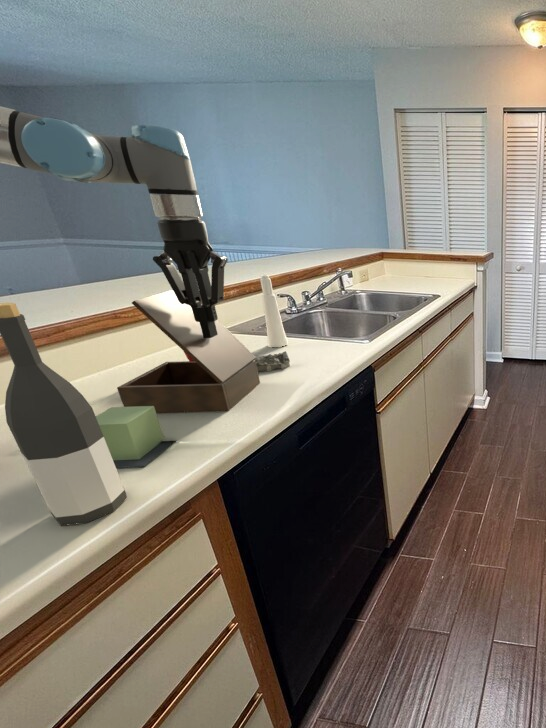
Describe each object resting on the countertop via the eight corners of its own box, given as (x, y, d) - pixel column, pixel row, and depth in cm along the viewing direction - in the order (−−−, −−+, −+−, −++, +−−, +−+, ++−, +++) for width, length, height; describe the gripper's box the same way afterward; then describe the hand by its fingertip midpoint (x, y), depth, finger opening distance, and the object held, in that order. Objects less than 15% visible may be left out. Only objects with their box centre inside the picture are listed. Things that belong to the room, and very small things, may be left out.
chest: (127, 418, 88) (116, 387, 85) (174, 388, 102) (166, 361, 99) (229, 414, 90) (221, 385, 87) (261, 386, 104) (255, 360, 102)
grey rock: (246, 377, 109) (242, 363, 108) (246, 368, 115) (243, 354, 114) (291, 371, 114) (289, 356, 113) (289, 362, 120) (287, 349, 119)
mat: (72, 470, 70) (71, 468, 70) (120, 437, 80) (120, 435, 80) (144, 467, 71) (143, 465, 71) (183, 435, 81) (182, 433, 81)
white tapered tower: (291, 345, 135) (278, 275, 127) (270, 349, 132) (256, 277, 123) (285, 341, 139) (272, 273, 131) (265, 344, 136) (250, 274, 127)
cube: (94, 461, 72) (79, 425, 69) (124, 440, 78) (111, 407, 76) (139, 459, 73) (126, 423, 70) (165, 439, 79) (154, 405, 77)
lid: (131, 302, 79) (134, 300, 79) (181, 288, 94) (184, 286, 94) (219, 384, 87) (222, 382, 87) (253, 359, 102) (256, 357, 102)
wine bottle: (84, 530, 57) (-16, 313, 46) (36, 522, 59) (-73, 309, 47) (142, 494, 65) (68, 299, 53) (98, 487, 66) (17, 296, 55)
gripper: (226, 219, 86) (250, 331, 95) (156, 217, 85) (188, 331, 93) (206, 220, 79) (234, 340, 88) (130, 218, 78) (167, 341, 87)
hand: (210, 336), depth 91 cm, fingers closed
